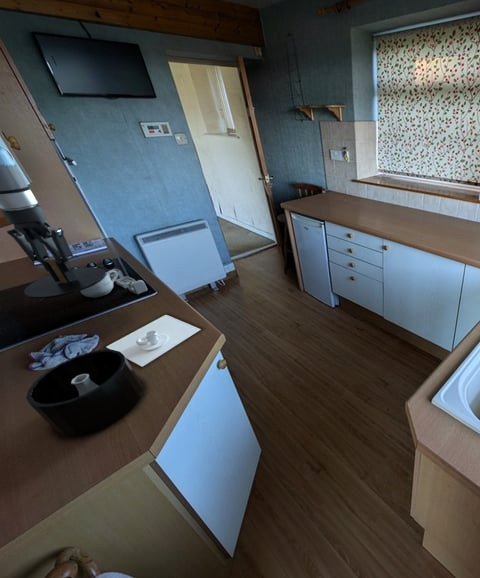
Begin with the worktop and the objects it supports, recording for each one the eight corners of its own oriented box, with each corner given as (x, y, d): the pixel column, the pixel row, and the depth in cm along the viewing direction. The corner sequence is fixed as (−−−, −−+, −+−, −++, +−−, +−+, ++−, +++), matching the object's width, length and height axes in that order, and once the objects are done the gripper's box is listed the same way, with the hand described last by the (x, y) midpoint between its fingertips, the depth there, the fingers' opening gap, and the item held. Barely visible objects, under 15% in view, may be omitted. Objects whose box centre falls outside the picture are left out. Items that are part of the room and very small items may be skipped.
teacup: (89, 303, 118) (78, 286, 114) (79, 295, 123) (69, 278, 119) (129, 288, 128) (121, 272, 124) (119, 281, 133) (110, 266, 129)
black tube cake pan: (34, 438, 70) (2, 408, 64) (93, 379, 86) (71, 350, 80) (112, 435, 71) (88, 405, 65) (157, 377, 87) (140, 348, 81)
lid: (7, 300, 86) (-15, 273, 81) (63, 270, 102) (48, 246, 97) (75, 299, 87) (58, 272, 82) (120, 270, 103) (108, 246, 98)
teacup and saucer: (133, 345, 98) (128, 336, 95) (158, 332, 104) (153, 323, 102) (149, 354, 94) (144, 344, 92) (173, 339, 101) (169, 330, 98)
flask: (107, 413, 76) (86, 388, 70) (74, 418, 74) (51, 392, 69) (122, 391, 82) (105, 365, 76) (92, 395, 80) (72, 369, 75)
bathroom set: (149, 289, 128) (144, 279, 125) (137, 294, 124) (131, 283, 121) (120, 275, 138) (115, 265, 135) (108, 279, 134) (102, 269, 131)
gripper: (62, 203, 85) (101, 273, 97) (3, 203, 84) (50, 274, 96) (37, 211, 79) (83, 285, 91) (-26, 210, 78) (28, 286, 90)
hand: (66, 279), depth 94 cm, fingers closed on lid, 3 cm apart
